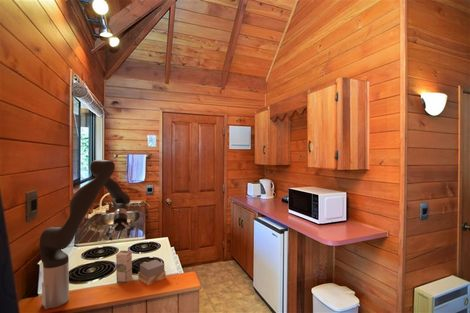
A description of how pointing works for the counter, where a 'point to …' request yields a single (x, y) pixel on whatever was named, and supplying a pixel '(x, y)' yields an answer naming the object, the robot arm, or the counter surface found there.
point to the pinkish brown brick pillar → (124, 266)
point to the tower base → (151, 278)
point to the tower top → (152, 268)
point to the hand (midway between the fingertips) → (119, 237)
